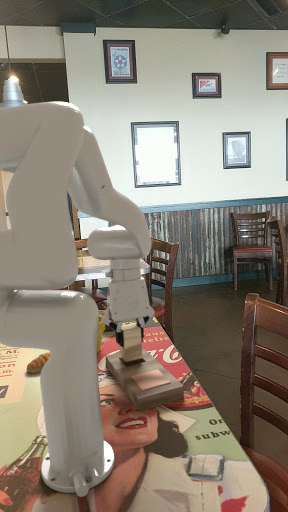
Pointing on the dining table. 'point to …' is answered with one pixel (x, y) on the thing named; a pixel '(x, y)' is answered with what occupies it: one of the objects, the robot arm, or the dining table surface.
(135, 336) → the maple block
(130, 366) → the pocket board
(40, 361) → the pastry
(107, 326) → the fruit
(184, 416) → the dining table surface
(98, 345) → the plant pot
